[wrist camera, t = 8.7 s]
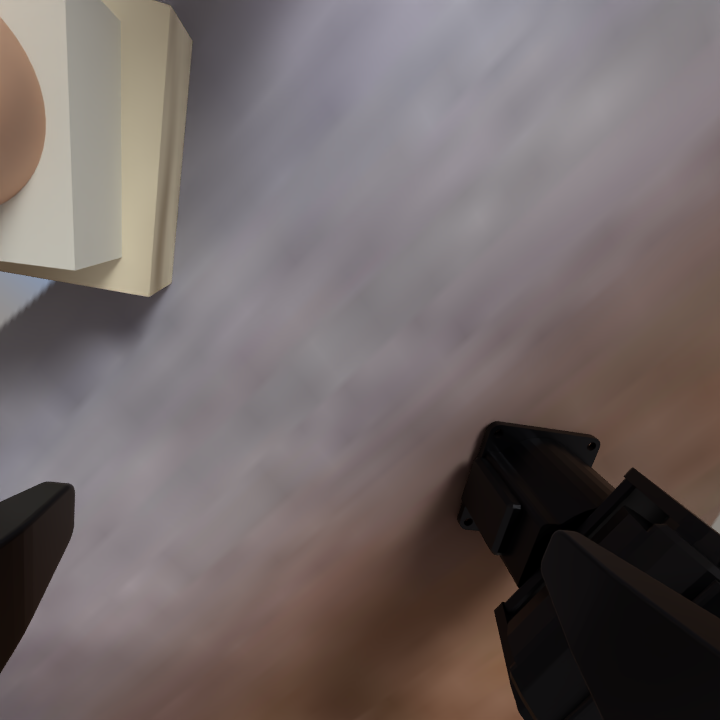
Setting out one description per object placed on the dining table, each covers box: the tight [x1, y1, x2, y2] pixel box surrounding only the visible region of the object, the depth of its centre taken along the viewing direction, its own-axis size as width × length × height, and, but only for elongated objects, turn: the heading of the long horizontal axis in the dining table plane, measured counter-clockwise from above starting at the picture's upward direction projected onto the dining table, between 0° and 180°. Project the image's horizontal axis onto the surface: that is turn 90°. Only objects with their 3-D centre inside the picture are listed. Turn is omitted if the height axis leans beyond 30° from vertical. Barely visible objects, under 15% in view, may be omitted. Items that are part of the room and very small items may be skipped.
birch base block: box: [0, 0, 193, 297], centre depth 15 cm, size 9×9×4 cm
